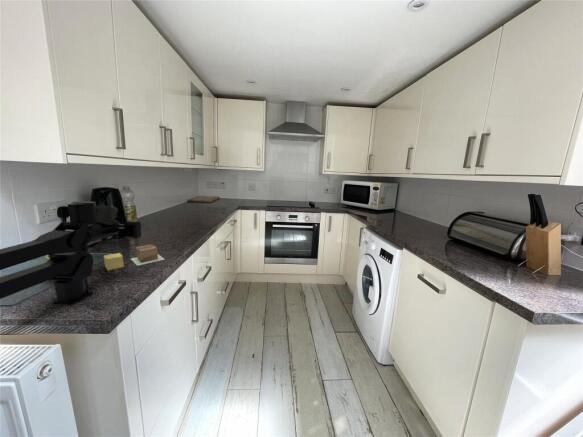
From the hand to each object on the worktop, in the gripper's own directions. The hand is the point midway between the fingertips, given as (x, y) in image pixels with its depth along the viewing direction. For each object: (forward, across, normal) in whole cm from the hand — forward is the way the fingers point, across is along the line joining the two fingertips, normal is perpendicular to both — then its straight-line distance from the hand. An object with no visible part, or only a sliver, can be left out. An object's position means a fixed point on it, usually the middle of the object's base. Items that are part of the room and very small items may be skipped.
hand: (130, 224), depth 90 cm
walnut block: (+5, -3, +16) cm, 17 cm away
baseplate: (+5, -3, +16) cm, 17 cm away
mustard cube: (-4, +4, +17) cm, 18 cm away
